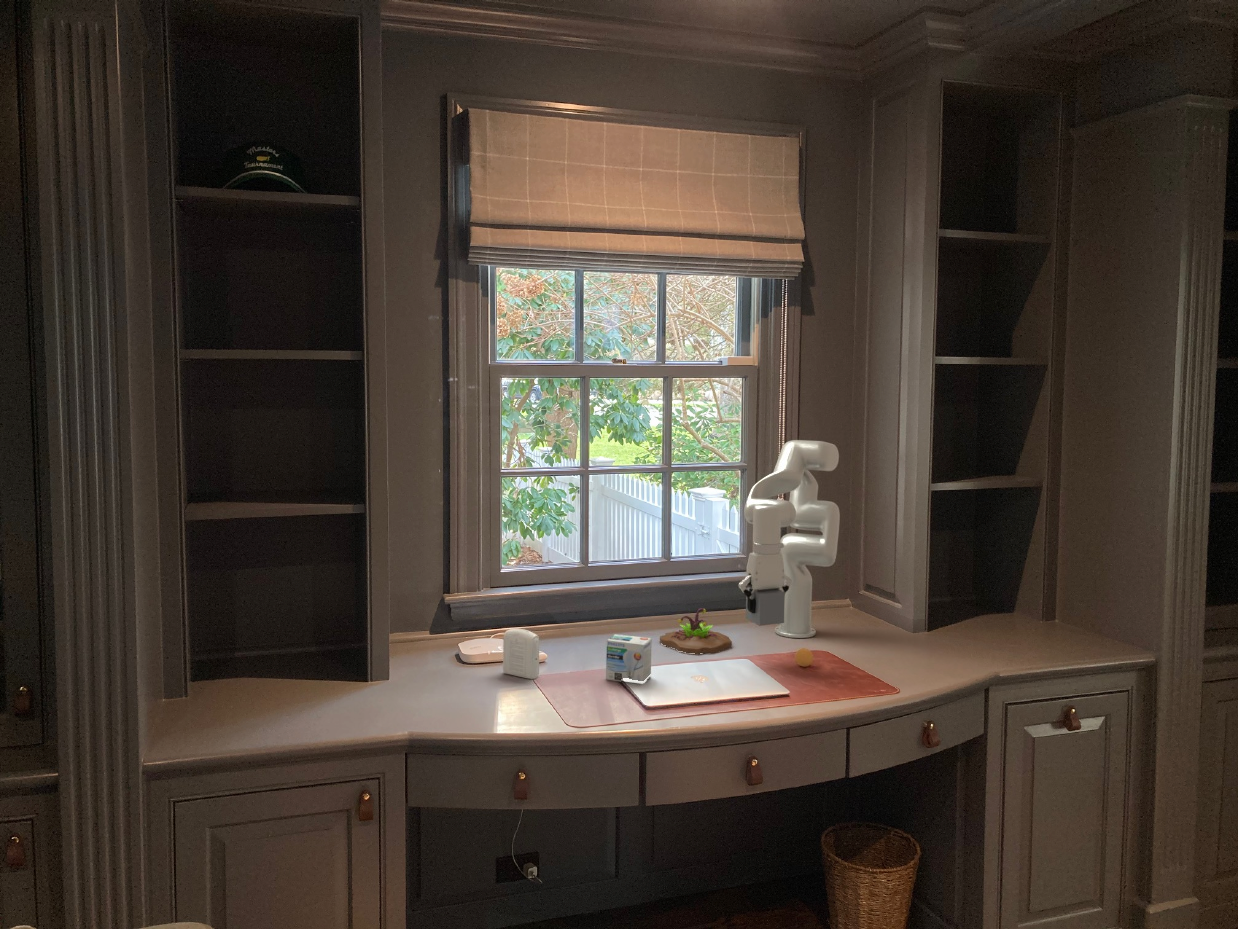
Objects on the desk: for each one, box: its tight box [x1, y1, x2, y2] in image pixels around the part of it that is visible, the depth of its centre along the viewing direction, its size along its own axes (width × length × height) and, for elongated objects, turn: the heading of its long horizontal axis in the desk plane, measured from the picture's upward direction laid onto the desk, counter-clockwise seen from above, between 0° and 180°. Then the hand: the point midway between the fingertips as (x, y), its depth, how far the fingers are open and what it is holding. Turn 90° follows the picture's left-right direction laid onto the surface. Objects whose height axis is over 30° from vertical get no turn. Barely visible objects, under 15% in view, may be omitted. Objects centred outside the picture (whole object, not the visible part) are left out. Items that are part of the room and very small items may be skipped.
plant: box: [659, 607, 733, 655], centre depth 274 cm, size 20×20×11 cm
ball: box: [794, 647, 814, 668], centre depth 254 cm, size 5×5×5 cm
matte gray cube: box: [745, 587, 785, 627], centre depth 254 cm, size 8×8×9 cm
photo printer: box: [502, 628, 540, 680], centre depth 243 cm, size 10×4×12 cm, turn 60°
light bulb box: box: [605, 633, 653, 683], centre depth 241 cm, size 11×7×11 cm, turn 70°
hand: (765, 610), depth 255 cm, fingers closed on matte gray cube, 7 cm apart
